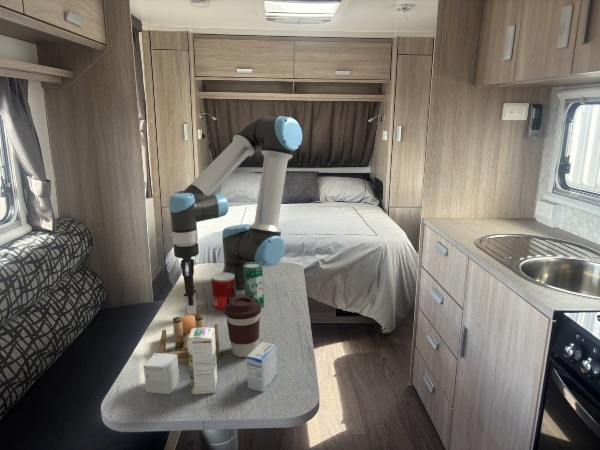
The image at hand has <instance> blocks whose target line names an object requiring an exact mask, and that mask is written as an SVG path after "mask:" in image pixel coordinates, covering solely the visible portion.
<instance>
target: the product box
mask: <svg viewBox="0 0 600 450" xmlns="http://www.w3.org/2000/svg"><path fill="white" fill-rule="evenodd" d="M166 353H167V352H165V353H163V354H161V353H158V352H154V353H153V354H152V355H151V357H149V359H148V360H147V361H146V363H145V364H144V365H143V370H144V371H143V373H144V380H145V391H146V393H153V394H166V395H170V394H171V393H172V392H173V391H174V389H175V387H176V386H177V384H178V382H179V381H180V374H179V373H180V371H179V369H180V368H179V364H178V357H177V354H166Z"/></svg>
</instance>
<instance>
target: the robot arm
mask: <svg viewBox="0 0 600 450" xmlns="http://www.w3.org/2000/svg"><path fill="white" fill-rule="evenodd" d="M302 141H303V131H302V128H301V126H300V123H299V122H298V121H297V120H296V119H294V118H293V117H291V116H283V115H280V116H261V117H257V118H255V119H252V121H250V122H249V123H247V124H245V125H244V126H243V127H242V128H240V130H239V131H238V132H237V133H236V134H235V135H234V136H233V137H232V142H231V143H230V144H229V145H227V147H226V148H225V149H224V150H223V151H222V152H221V153H220V154H219V155H218V156H217V157H216V158H215V159H214V160H213V161H212V162H211V163H210V164H209V165H208V166H207V167H206V168H205V169H204V170H203V171H202V172H201V173H200V174H199V175H198V176H197V177H196V178H195V179H194V180H193V181H192V182H191V183H190V184H189V185H188V186H187V187H186V188H185V189H184V190H179V191H176V192H174V193H173V194H172V195H171V196H169V200H168V201H169V209H168V211H169V213H170V214H169V216H170V225H171V232H172V233H170V238H172V243H173V246H172V247H173V255H174V257H175V258H177V259H182V260H180V268H181V274H182V277H183V283H184V290H185V291H184V292H185V293H183V297H185V300H186V311H187V315H197V306H196V295H195V293H197V291H198V290H197V289H195V282H194V275H195V268H194V267H195V261H194V260H195V259H194V257H196V256H198V255H199V253H200V251H199V243H198V241H199V238H198V228H197V226H198V225H197V223H199V222H204V221H209V220H214V219H219V218H222V217H224V216H226V215H227V213H228V212H229V201H228V199H227V197H226V196H225V195H224V194H221V193H218V194H217V193H214V192H215V191H216V189H218V188H219V186H221V184H222V183H224V181H225V180H227V179H228V177H229V176H230V175H231V174H233V172H234V171H235V170H236V169H237V168H238V167H239V166H240V165H241V164H242V162H244V161H245V159H246V158H247V157H252V156H253V155H254V154H255V153H256V152H258V151H259V150H260V153H261V154H262V155H263V164H262V171H261V178H260V185H259V189H258V196H257V204H256V210H255V211H256V212H255V218H254V222H253V223H252V224H250V223H249V224H248V223H247V224H246V223H245V224H236V225H231V226H227V227H225V228H224V229H223V230H222V237H221V239H222V250H223V265H224V266H223V269H222V272H221V273H223V272H227V273H232V274H234V275H235V288H236V290H240V291H241V290H244V271H243V265H244V264H246V263H249V262H259V263H262V267H266V268H271V267H275V266H276V265H277V264H279V263H280V262H281V260H282V258H283V257H284V255H285V252H286V243H285V240H284V239H283V238H282V237H281V234H282V230H281V228H280V227H279V221H280V214H281V207H282V201H283V194H284V187H285V183H286V181H285V180H286V174H287V166H288V162H289V160H291V159H292V158H293V157H294V156H293V155H294V151H297V150H298V149H299V147H300V146H301V144H302Z"/></svg>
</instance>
